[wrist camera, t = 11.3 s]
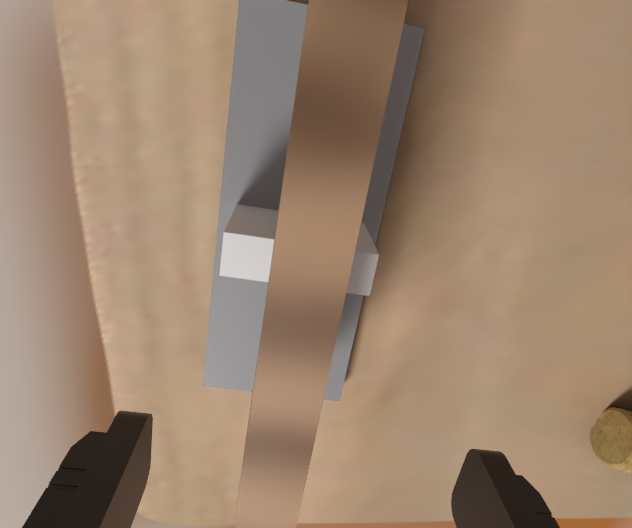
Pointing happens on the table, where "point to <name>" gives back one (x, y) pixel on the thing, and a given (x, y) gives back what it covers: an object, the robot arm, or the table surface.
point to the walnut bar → (315, 243)
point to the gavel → (613, 438)
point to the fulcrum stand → (266, 184)
